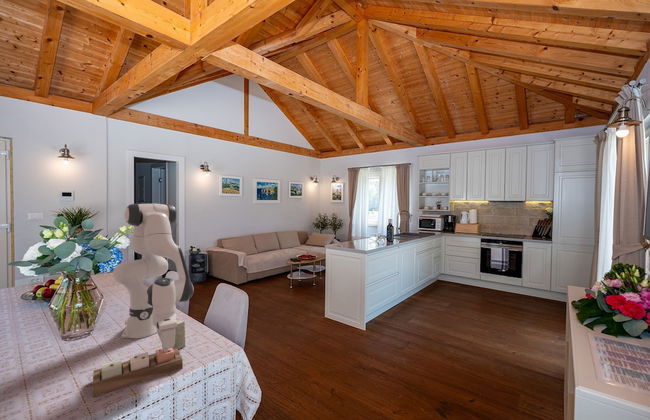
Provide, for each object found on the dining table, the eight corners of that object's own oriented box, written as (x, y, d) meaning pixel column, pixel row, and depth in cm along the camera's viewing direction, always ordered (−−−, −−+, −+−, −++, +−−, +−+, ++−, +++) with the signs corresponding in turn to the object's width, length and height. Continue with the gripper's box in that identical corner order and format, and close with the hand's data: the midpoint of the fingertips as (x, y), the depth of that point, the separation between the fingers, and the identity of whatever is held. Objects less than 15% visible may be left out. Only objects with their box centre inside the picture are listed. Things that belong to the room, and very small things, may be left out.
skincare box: (181, 343, 141) (181, 319, 140) (185, 346, 138) (185, 321, 137) (167, 348, 136) (167, 323, 135) (171, 352, 133) (171, 326, 132)
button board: (93, 380, 112) (93, 370, 112) (176, 355, 129) (176, 347, 129) (92, 397, 102) (92, 386, 102) (182, 368, 120) (182, 358, 120)
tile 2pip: (130, 368, 116) (129, 356, 116) (147, 363, 120) (147, 351, 120) (131, 376, 112) (130, 363, 111) (149, 370, 115) (149, 358, 115)
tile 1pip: (102, 377, 111) (101, 364, 111) (121, 371, 115) (120, 358, 114) (101, 385, 106) (101, 371, 106) (121, 379, 110) (121, 365, 110)
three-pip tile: (155, 361, 122) (155, 349, 122) (171, 357, 125) (171, 345, 125) (157, 368, 117) (157, 355, 117) (174, 363, 121) (174, 351, 121)
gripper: (152, 312, 127) (153, 343, 127) (159, 328, 111) (160, 363, 111) (168, 308, 131) (169, 338, 131) (177, 324, 115) (178, 358, 115)
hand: (165, 350), depth 121 cm, fingers closed, pressing on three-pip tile
